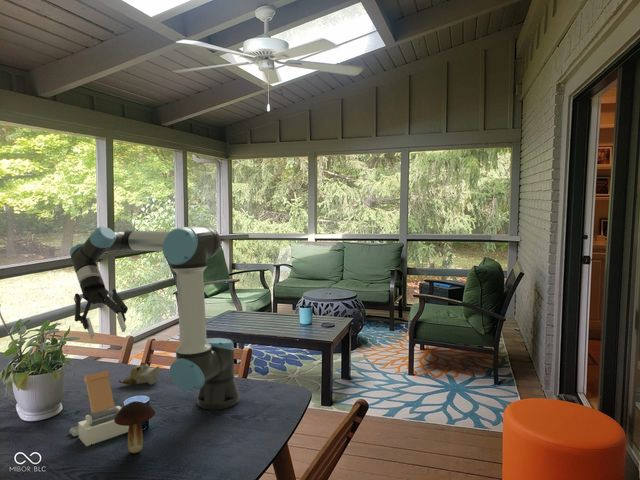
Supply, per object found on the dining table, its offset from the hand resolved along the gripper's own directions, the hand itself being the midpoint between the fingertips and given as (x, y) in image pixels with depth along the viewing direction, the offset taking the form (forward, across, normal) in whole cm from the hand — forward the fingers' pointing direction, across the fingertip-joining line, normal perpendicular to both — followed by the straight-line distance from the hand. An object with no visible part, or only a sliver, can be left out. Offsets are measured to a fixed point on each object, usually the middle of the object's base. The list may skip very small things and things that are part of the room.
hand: (108, 332), depth 154 cm
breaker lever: (+25, +6, -8) cm, 27 cm away
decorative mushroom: (+41, +4, 0) cm, 41 cm away
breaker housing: (+27, +7, -14) cm, 31 cm away
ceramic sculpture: (+5, -20, -36) cm, 42 cm away
